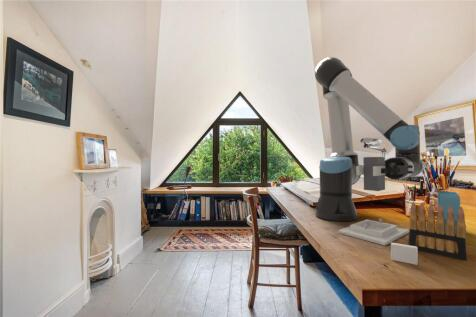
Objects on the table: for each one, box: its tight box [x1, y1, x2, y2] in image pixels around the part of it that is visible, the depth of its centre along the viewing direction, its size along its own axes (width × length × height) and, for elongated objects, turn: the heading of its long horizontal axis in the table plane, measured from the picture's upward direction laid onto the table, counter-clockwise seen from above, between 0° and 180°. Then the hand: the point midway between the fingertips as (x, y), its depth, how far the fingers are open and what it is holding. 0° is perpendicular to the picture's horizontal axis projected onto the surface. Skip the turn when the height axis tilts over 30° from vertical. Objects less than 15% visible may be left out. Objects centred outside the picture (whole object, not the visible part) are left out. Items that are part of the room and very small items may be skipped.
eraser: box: [390, 242, 419, 265], centre depth 53 cm, size 1×5×4 cm, turn 57°
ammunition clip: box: [408, 201, 468, 262], centre depth 57 cm, size 11×2×12 cm, turn 47°
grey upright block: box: [362, 156, 386, 192], centre depth 72 cm, size 4×5×10 cm
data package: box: [437, 190, 461, 235], centre depth 72 cm, size 12×4×12 cm, turn 141°
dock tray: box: [338, 218, 409, 246], centre depth 72 cm, size 13×17×4 cm
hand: (365, 170), depth 68 cm, fingers closed on grey upright block, 4 cm apart
